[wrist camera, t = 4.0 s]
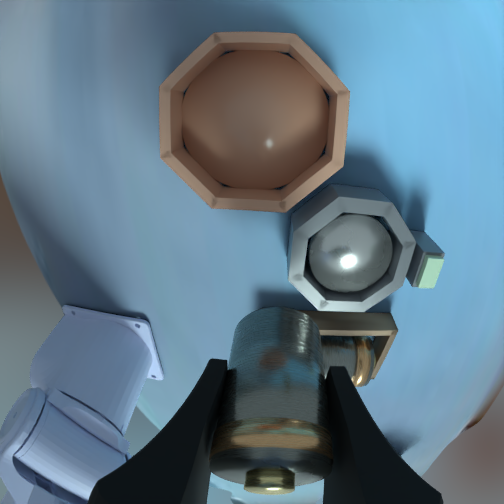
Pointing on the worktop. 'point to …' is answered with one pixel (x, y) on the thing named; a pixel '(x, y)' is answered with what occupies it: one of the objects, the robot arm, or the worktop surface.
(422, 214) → the worktop surface
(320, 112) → the cup
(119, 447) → the robot arm
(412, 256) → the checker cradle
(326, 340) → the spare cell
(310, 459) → the cell
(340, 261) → the shiny silver dome
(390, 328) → the trough
